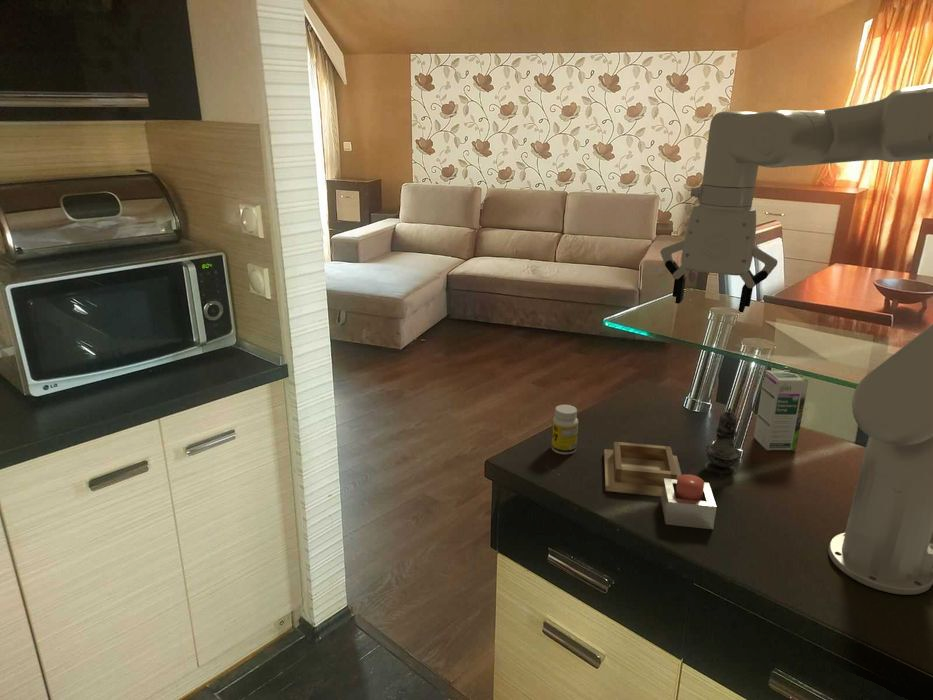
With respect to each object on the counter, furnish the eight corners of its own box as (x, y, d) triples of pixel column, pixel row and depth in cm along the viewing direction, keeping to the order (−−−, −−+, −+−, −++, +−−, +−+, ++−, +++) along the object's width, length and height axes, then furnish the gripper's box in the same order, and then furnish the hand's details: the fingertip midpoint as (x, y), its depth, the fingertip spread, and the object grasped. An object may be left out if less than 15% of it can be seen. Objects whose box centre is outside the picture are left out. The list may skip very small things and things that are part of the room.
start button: (699, 492, 103) (702, 475, 102) (703, 506, 99) (706, 489, 98) (673, 489, 104) (675, 473, 103) (676, 503, 100) (679, 486, 99)
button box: (705, 504, 105) (708, 482, 104) (713, 529, 99) (716, 506, 97) (661, 499, 106) (663, 478, 105) (665, 524, 100) (668, 501, 99)
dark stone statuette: (700, 472, 115) (709, 410, 111) (705, 457, 120) (714, 398, 116) (735, 480, 112) (746, 417, 108) (739, 465, 117) (749, 405, 113)
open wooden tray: (676, 460, 119) (678, 443, 117) (685, 498, 107) (688, 480, 105) (604, 453, 121) (605, 437, 120) (605, 490, 109) (607, 472, 108)
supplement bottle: (549, 443, 125) (551, 403, 122) (573, 443, 125) (576, 403, 122) (553, 455, 120) (555, 414, 117) (578, 455, 120) (581, 414, 118)
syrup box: (766, 451, 122) (779, 380, 117) (752, 436, 128) (764, 368, 123) (796, 451, 122) (810, 380, 118) (781, 436, 128) (794, 368, 123)
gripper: (663, 196, 99) (650, 304, 105) (787, 204, 91) (766, 320, 97) (672, 191, 105) (659, 293, 111) (789, 199, 98) (769, 307, 104)
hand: (709, 305), depth 104 cm, fingers open, 9 cm apart
